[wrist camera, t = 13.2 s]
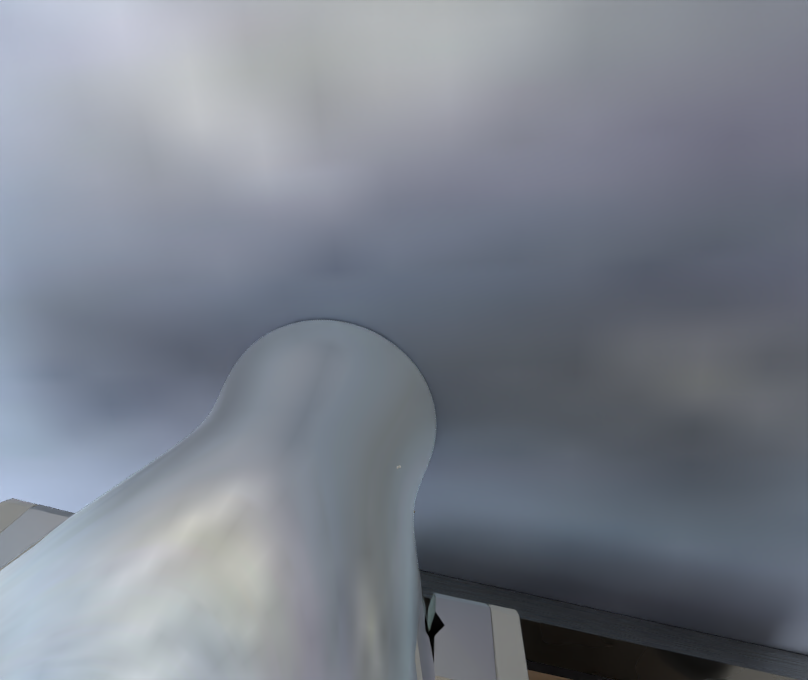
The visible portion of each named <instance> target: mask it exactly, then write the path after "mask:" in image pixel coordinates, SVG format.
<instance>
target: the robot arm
mask: <svg viewBox="0 0 808 680" xmlns="http://www.w3.org/2000/svg"><path fill="white" fill-rule="evenodd" d="M74 514H75V513H72V512H68V511H64V510H60V509H56V508H52V507H48V506H44V505H40V504H39V505H37V504H33V503H29V502H25V501H21V500H18V499H14V498H12V499H9V500H6V501H3V502H1V503H0V567H1V566H3V565H4V564H5V563H7V562H8V561H9V560H11V559H12V558H13V557H15V556H16V555H17V554H19V553H20V552H21V551H23V550H24V549H25V548H27V547H28V546H29V545H30V544H32V543H33V542H35V541H36V540H38V539H39V538H40V537H42V536H43V535H45V534H46V533H48V532H49V531H51V530H52V529H54V528H55V527H56V526H58V525H59V524H61V523H62V522H64V521H65V520H67V519H68V518H69V517H71V516H72V515H74ZM428 628H429V635H430V642H431V649H432V655H433V662H434V669H435V676H436V680H529V677H528V671H527V664H526V658H525V651H524V645H523V638H522V631H521V625H520V618H519V614H518V613H517V611H516V610H514V609H509V608H505V607H500V606H495V605H490V604H489V605H487V604H486V603H481V602H476V601H471V600H467V599H462V598H457V597H452V596H447V595H443V594H438V593H434V594H433V596H432V598H431V601H430V605H429V608H428Z"/></svg>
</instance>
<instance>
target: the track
mask: <svg viewBox="0 0 808 680" xmlns="http://www.w3.org/2000/svg"><path fill="white" fill-rule="evenodd" d="M419 571H420V570H419ZM420 577H421V584H422V590H423V596H424V602H425V608H426V615H427V621H428V608H429V605H430V601H431V598H432V596H433V594H434V593H438V594H443V595H447V596H452V597H457V598H462V599H467V600H471V601H476V602H481V603H486V604H487V605H489V604H490V605H495V606H500V607H505V608H509V609H514V610H516V611H517V613H518V614H519V618H520V625H521V631H522V638H523V645H524V651H525V658H526V660H529V661H533V662H538V663H542V664H547V665H551V666H556V667H560V668H565V669H569V670H574V671H578V672H583V673H587V674H592V675H596V676H601V677H605V678H610V679H614V680H709V679H724V680H808V656H805V655H801V654H796V653H792V652H787V651H783V650H778V649H774V648H769V647H764V646H760V645H755V644H751V643H746V642H742V641H737V640H733V639H728V638H724V637H719V636H715V635H710V634H706V633H701V632H697V631H692V630H688V629H683V628H678V627H674V626H669V625H665V624H660V623H656V622H651V621H647V620H642V619H638V618H633V617H629V616H624V615H620V614H615V613H611V612H606V611H601V610H597V609H592V608H588V607H583V606H579V605H574V604H570V603H565V602H561V601H556V600H552V599H547V598H543V597H538V596H534V595H529V594H524V593H520V592H515V591H511V590H506V589H502V588H497V587H493V586H488V585H484V584H479V583H475V582H470V581H466V580H461V579H457V578H452V577H447V576H443V575H438V574H434V573H429V572H425V571H420Z"/></svg>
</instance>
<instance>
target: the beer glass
mask: <svg viewBox="0 0 808 680" xmlns="http://www.w3.org/2000/svg"><path fill="white" fill-rule="evenodd" d="M435 438H436V412H435V406H434V402H433V399H432V396H431V393H430V390H429V388H428V385H427V383H426V381H425V379H424V378H423V376H422V374H421V373H420V371H419V370H418V368H417V367H416V365H415V364H414V363H413V362H412V361H411V359H410V358H409V357H408V356H407V355H406V354H405V353H404V352H403V351H402V350H400V349H399V348H398V347H397V346H396V345H394V344H393V343H392V342H390V341H389V340H387V339H386V338H384V337H382V336H381V335H379V334H377V333H375V332H373V331H371V330H369V329H367V328H364V327H361V326H358V325H355V324H352V323H348V322H343V321H336V320H307V321H300V322H296V323H292V324H289V325H286V326H283V327H280V328H278V329H275V330H273V331H271V332H269V333H267V334H266V335H264V336H263V337H261V338H260V339H258V340H257V341H256V342H254V343H253V344H252V345H251V346H250V347H249V348H248V349H247V350H246V351H245V352H244V353H243V354H242V356H241V357H240V358H239V359H238V360H237V362H236V363H235V365H234V366H233V368H232V370H231V371H230V373H229V375H228V377H227V379H226V381H225V383H224V385H223V387H222V389H221V392H220V394H219V396H218V398H217V400H216V403H215V405H214V407H213V408H212V410H211V412H210V413H209V415H208V416H207V417H206V419H205V420H204V421H203V422H202V423H201V424H200V425H199V426H198V427H197V428H196V429H195V430H194V431H193V432H192V433H191V434H190V435H188V436H187V437H185V438H184V439H183V440H181V441H180V442H179V443H177V444H176V445H174V446H173V447H172V448H170V449H169V450H168V451H166V452H165V453H164V454H162V455H161V456H159V457H158V458H156V459H155V460H153V461H152V462H150V463H149V464H147V465H146V466H144V467H143V468H141V469H140V470H138V471H137V472H135V473H134V474H132V475H131V476H129V477H128V478H126V479H125V480H123V481H122V482H120V483H119V484H117V485H116V486H114V487H113V488H112V489H110V490H109V491H107V492H106V493H104V494H103V495H101V496H100V497H98V498H97V499H96V500H94V501H93V502H91V503H90V504H88V505H87V506H85V507H84V508H83V509H81V510H80V511H78V512H77V513H75V514H74V515H72V516H71V517H69V518H68V519H67V520H65V521H64V522H62V523H61V524H59V525H58V526H56V527H55V528H54V529H52V530H51V531H49V532H48V533H46V534H45V535H43V536H42V537H40V538H39V539H38V540H36V541H35V542H33V543H32V544H30V545H29V546H28V547H27V548H25V549H24V550H23V551H21V552H20V553H19V554H17V555H16V556H15V557H13V558H12V559H11V560H9V561H8V562H7V563H5V564H4V565H3V566H1V567H0V680H436V676H435V669H434V662H433V655H432V649H431V642H430V635H429V628H428V621H427V615H426V608H425V602H424V596H423V590H422V584H421V577H420V571H419V565H418V558H417V550H416V542H415V534H414V513H415V510H414V505H415V499H416V495H417V492H418V489H419V487H420V484H421V482H422V480H423V477H424V475H425V472H426V470H427V467H428V465H429V462H430V459H431V456H432V453H433V449H434V444H435Z"/></svg>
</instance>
